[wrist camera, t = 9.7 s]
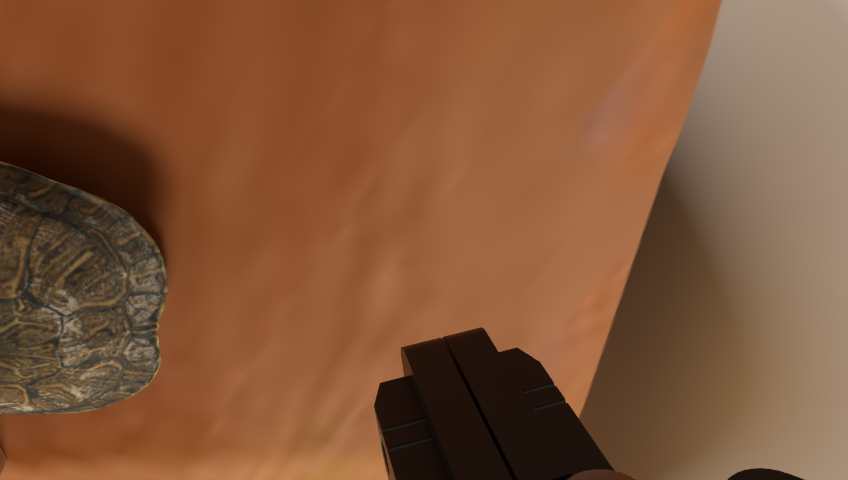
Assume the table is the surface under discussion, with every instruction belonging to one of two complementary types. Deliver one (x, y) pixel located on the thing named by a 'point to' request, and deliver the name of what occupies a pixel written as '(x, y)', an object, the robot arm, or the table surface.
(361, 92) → the table surface
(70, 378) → the turtle shell
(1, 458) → the oak overhang
